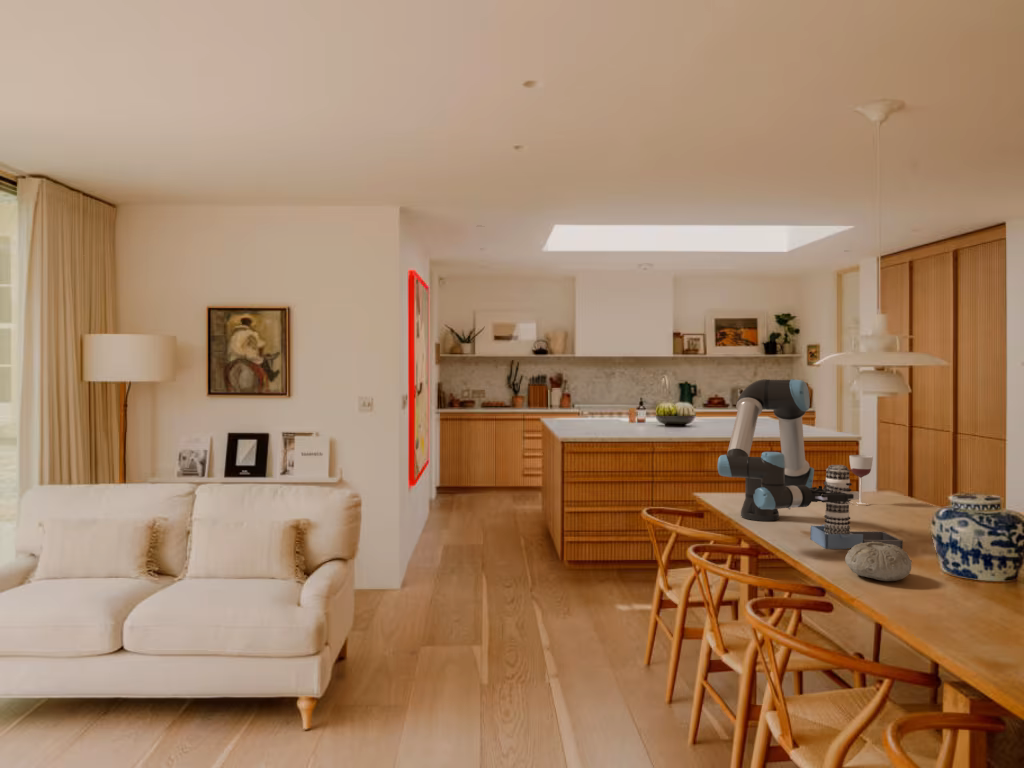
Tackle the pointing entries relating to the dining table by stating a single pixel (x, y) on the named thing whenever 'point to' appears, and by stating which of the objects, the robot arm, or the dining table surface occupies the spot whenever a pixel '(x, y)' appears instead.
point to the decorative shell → (879, 561)
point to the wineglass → (860, 468)
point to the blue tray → (834, 539)
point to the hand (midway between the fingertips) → (848, 493)
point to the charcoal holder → (879, 537)
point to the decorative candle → (837, 510)
